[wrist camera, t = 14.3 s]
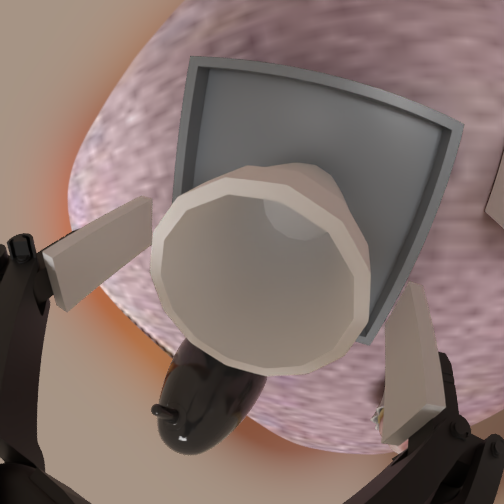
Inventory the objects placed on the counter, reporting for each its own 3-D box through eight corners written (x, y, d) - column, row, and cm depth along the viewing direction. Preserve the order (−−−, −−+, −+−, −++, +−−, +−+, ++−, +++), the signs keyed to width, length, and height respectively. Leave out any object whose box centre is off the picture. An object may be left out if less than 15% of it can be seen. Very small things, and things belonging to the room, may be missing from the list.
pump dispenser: (265, 308, 30) (203, 435, 17) (282, 375, 34) (241, 484, 21) (183, 307, 33) (106, 402, 21) (210, 368, 37) (156, 458, 25)
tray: (208, 61, 20) (190, 56, 18) (450, 122, 17) (464, 124, 14) (183, 262, 30) (169, 276, 28) (369, 324, 27) (369, 345, 24)
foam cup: (242, 244, 26) (163, 344, 15) (246, 137, 22) (138, 170, 11) (351, 264, 23) (339, 392, 12) (371, 153, 19) (401, 205, 8)
